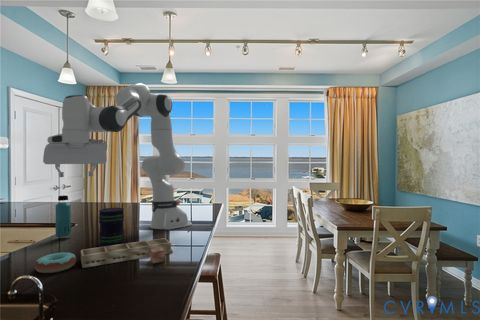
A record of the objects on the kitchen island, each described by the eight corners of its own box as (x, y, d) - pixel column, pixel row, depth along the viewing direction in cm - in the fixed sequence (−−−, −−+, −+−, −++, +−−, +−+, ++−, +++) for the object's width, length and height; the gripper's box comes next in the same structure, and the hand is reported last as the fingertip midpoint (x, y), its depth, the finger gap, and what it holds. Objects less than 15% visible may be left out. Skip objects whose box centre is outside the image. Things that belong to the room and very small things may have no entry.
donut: (71, 272, 95) (71, 260, 95) (28, 277, 91) (28, 264, 92) (80, 260, 106) (80, 249, 106) (42, 264, 103) (42, 252, 103)
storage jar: (129, 242, 130) (128, 208, 130) (112, 248, 121) (112, 211, 121) (111, 240, 133) (110, 207, 134) (93, 246, 124) (93, 210, 124)
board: (164, 246, 123) (164, 238, 123) (172, 252, 114) (172, 243, 114) (80, 259, 107) (80, 249, 107) (82, 268, 98) (82, 257, 98)
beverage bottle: (64, 240, 133) (63, 196, 133) (51, 240, 134) (51, 196, 134) (74, 237, 139) (74, 194, 139) (62, 236, 141) (62, 194, 141)
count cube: (161, 258, 108) (161, 247, 108) (164, 261, 105) (164, 250, 105) (150, 260, 106) (150, 249, 106) (153, 263, 103) (153, 252, 103)
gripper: (106, 140, 116) (106, 175, 116) (43, 138, 105) (44, 177, 105) (108, 139, 110) (108, 176, 110) (42, 137, 100) (42, 178, 100)
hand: (76, 176), depth 108 cm, fingers open, 8 cm apart
